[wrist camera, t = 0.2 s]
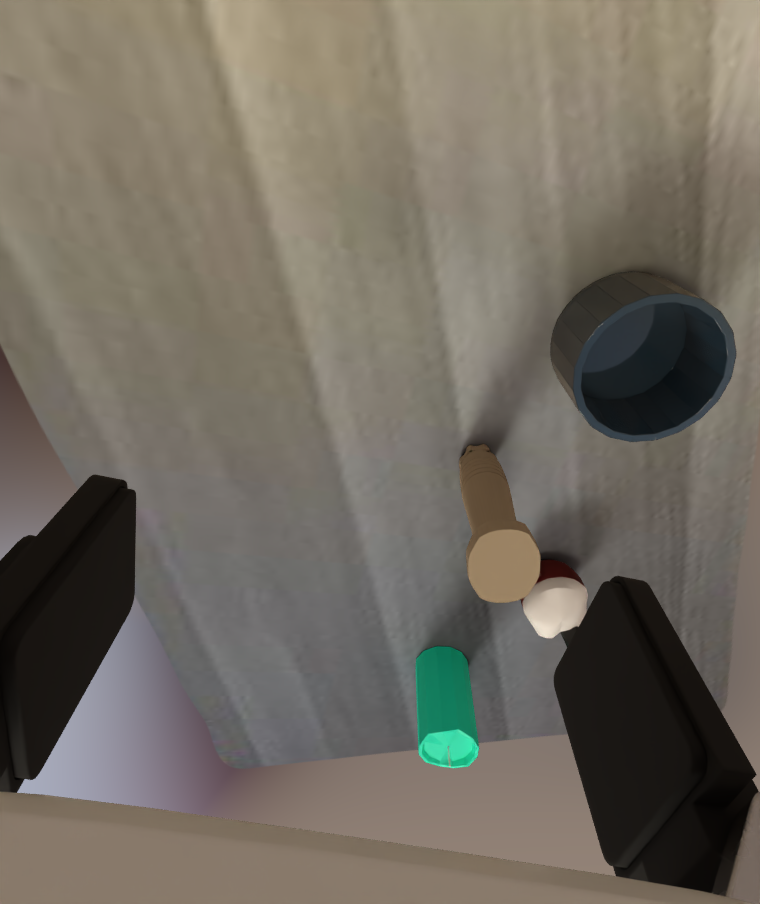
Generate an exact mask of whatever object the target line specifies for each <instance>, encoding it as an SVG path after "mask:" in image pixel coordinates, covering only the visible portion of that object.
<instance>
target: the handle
mask: <svg viewBox="0 0 760 904" xmlns="http://www.w3.org/2000/svg"><path fill="white" fill-rule="evenodd" d="M459 467H460V485H461V492H462V499H463V502H464V506H465V509H466V513H467V516H468V520H469V523H470V527H471V530H472V534H473V535H472V537H471V539H470V541H469V544H468V546H467V550H466V560H467V571H468V577H469V581H470V583H471V585H472V587H473V588H474V590H475V591H476V593H477V594H478V595H479V597H480V598H481V599H483V600H486V601H489V602H496V603H505V602H512V601H517V600H520V599H522V598H524V597H526V596H528V594H529V593H530V591H531V590H532V588H533V587H534V585H535V584H536V582H537V580H538V578H539V574H540V553H539V549H538V546H537V544H536V542H535V539H534V538H533V536H532V534H531V532H530V531H529V529H528V528H527V526H526V525H525V524H524V523H521V522H519V521H516V517H515V513H514V508H513V503H512V498H511V493H510V488H509V485H508V482H507V479H506V476H505V474H504V471H503V469H502V467H501V465H500V463H499V462H498V460H497V458H496V456H495V455H494V454H492V453H491V452H490V450H489V448H488V446H487V445H485V444H481V445H479V446H472V445H470V446H468V447H467V450H466V452H465V454H464V455H463V456H461V457H460V461H459Z"/></svg>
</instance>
